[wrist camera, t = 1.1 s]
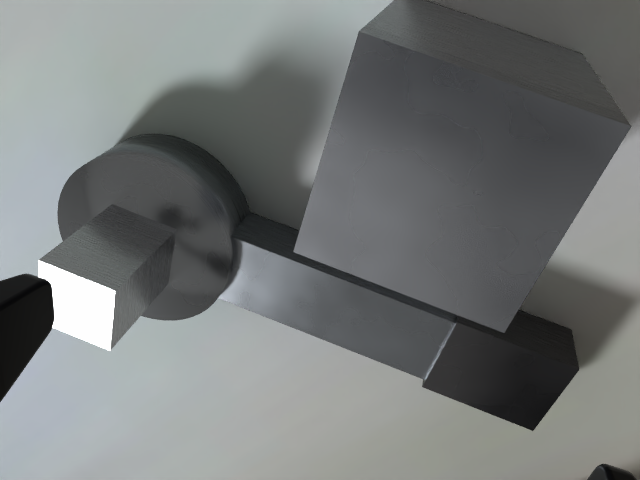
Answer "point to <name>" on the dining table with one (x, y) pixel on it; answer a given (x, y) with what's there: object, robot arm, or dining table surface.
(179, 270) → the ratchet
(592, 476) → the robot arm
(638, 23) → the dining table surface
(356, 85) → the brushed metal cube
